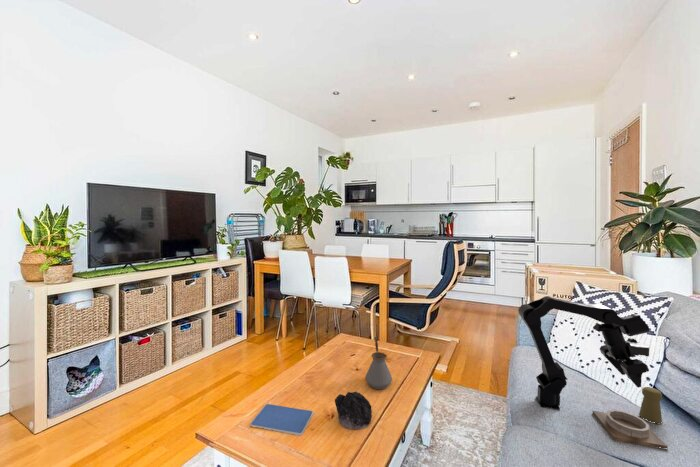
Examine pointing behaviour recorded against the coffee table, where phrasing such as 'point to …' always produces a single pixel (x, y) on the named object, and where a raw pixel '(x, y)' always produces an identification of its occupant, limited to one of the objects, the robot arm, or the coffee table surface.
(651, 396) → the cork
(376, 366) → the coffee pot
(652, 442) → the spacer seat
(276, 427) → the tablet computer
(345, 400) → the black rough lump
